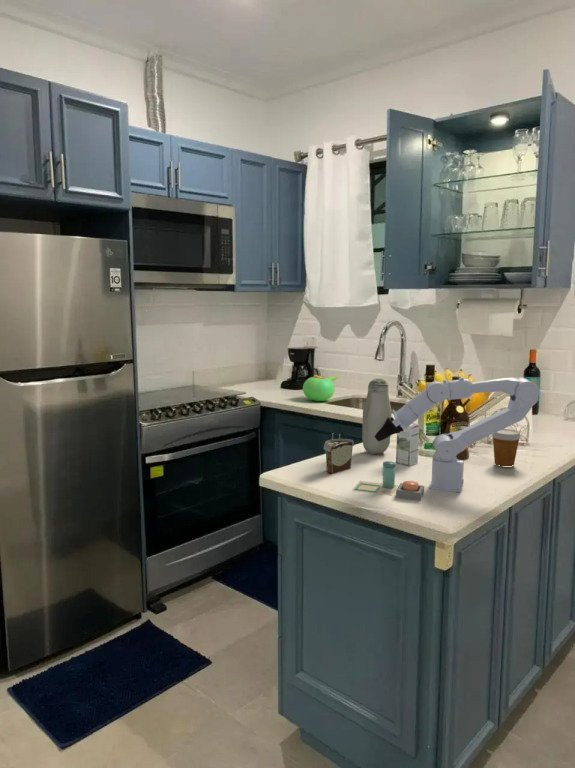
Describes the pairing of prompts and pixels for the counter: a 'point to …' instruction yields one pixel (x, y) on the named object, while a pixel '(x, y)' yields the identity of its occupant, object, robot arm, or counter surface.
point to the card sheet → (373, 488)
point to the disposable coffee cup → (505, 446)
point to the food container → (338, 455)
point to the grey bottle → (376, 416)
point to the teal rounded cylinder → (388, 474)
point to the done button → (410, 486)
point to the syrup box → (408, 445)
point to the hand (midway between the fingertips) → (378, 438)
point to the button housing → (410, 493)
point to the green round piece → (319, 388)
